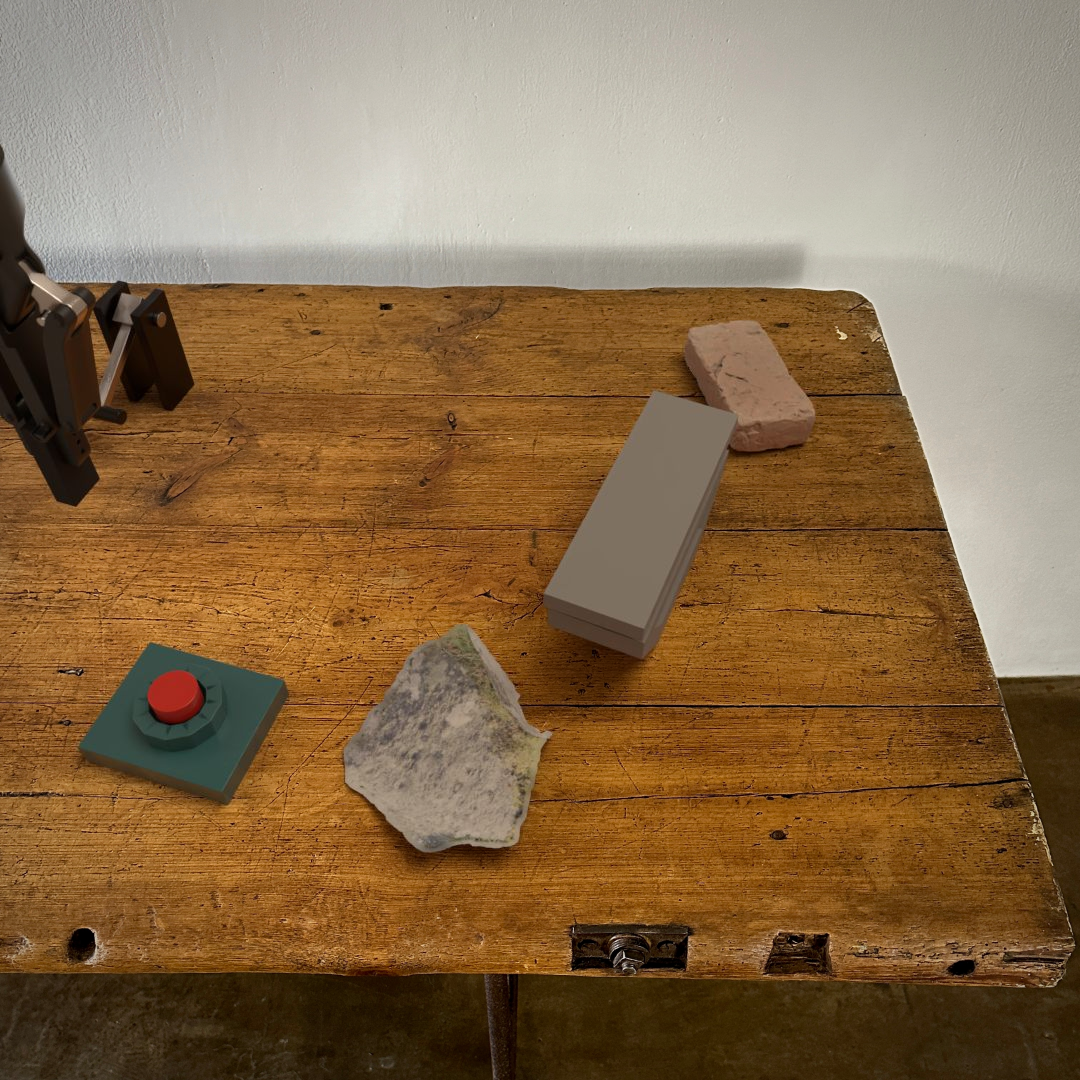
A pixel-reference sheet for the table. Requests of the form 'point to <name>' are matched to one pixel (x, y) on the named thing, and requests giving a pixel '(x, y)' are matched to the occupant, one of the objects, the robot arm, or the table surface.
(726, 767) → the table surface
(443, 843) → the rock fragment
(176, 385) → the bracket
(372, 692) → the table surface
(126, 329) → the lever
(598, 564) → the sharpening stone
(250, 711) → the control block
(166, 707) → the button
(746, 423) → the brick
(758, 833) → the table surface
